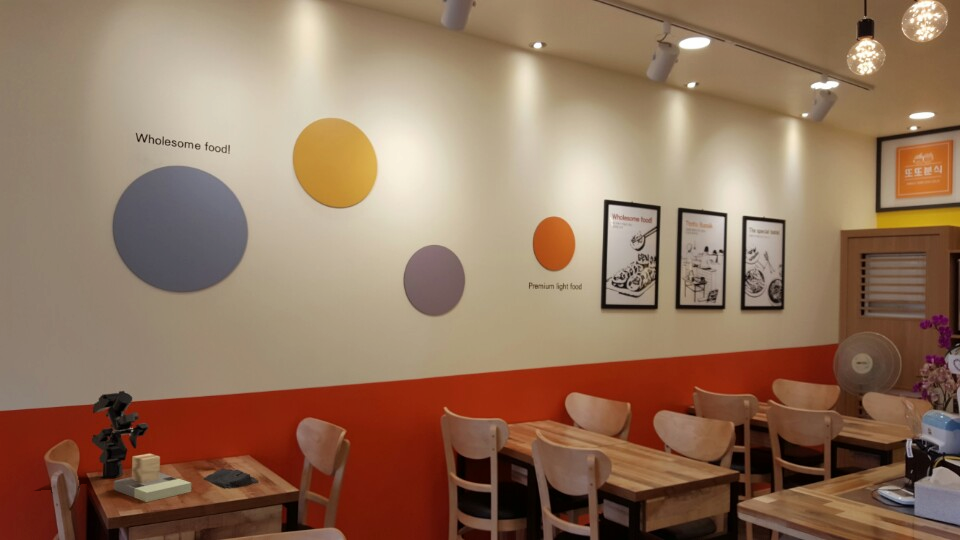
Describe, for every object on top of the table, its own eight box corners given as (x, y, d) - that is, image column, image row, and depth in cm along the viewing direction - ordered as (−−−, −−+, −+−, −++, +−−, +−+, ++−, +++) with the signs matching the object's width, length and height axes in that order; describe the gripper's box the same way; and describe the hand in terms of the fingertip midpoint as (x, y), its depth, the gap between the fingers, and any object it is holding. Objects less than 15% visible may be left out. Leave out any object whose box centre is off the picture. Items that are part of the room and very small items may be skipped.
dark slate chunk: (234, 473, 310) (235, 462, 310) (261, 484, 294) (261, 472, 295) (200, 480, 298) (201, 468, 298) (226, 491, 283) (226, 479, 283)
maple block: (131, 479, 283) (132, 456, 283) (148, 475, 289) (149, 453, 289) (142, 482, 278) (142, 459, 278) (159, 479, 284) (159, 456, 284)
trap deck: (113, 489, 280) (114, 480, 280) (157, 480, 295) (157, 471, 295) (146, 502, 265) (146, 492, 265) (191, 491, 280) (191, 482, 280)
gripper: (102, 409, 288) (114, 440, 281) (147, 403, 302) (159, 433, 296) (92, 426, 292) (104, 457, 285) (137, 420, 307) (149, 449, 300)
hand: (130, 449), depth 291 cm, fingers open, 4 cm apart
